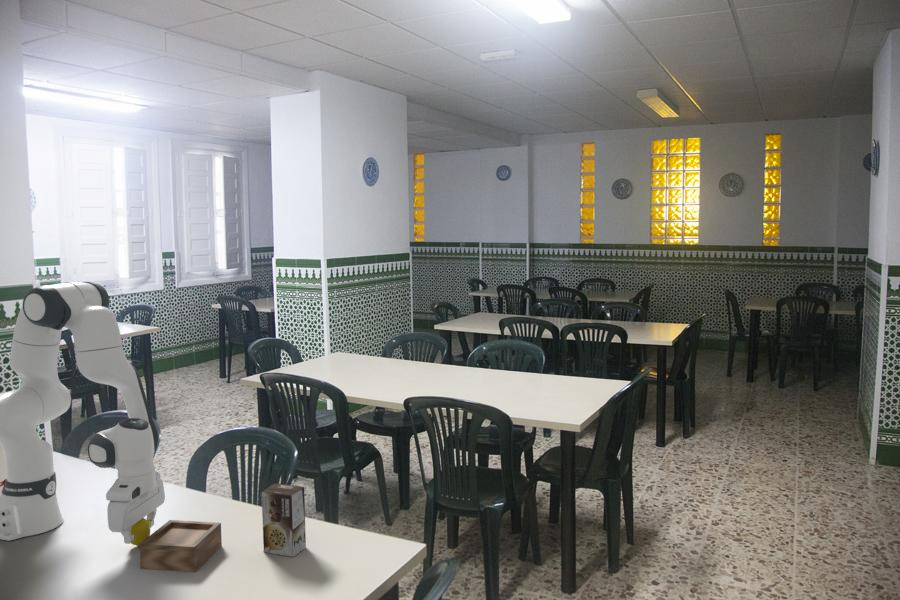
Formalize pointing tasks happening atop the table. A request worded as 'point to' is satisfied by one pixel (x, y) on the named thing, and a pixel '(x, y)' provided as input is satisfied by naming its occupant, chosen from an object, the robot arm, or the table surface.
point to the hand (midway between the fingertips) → (139, 534)
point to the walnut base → (180, 545)
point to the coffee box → (283, 519)
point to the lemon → (140, 531)
